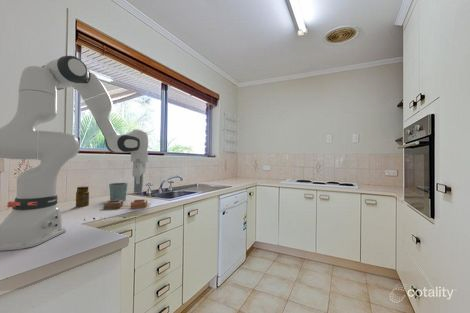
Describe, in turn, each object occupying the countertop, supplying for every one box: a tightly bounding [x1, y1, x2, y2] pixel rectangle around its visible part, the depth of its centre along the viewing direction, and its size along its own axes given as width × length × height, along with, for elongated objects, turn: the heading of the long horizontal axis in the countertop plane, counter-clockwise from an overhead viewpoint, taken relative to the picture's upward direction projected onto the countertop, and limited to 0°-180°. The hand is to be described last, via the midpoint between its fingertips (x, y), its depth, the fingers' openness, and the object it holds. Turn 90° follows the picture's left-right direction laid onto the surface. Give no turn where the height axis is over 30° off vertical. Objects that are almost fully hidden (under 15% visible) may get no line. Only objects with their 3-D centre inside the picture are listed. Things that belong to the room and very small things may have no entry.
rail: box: [99, 198, 151, 211], centre depth 121 cm, size 12×24×4 cm, turn 104°
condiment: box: [75, 185, 90, 208], centre depth 121 cm, size 7×8×12 cm
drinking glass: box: [108, 182, 128, 202], centre depth 137 cm, size 10×10×12 cm
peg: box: [133, 173, 144, 194], centre depth 123 cm, size 4×4×11 cm
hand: (138, 183), depth 123 cm, fingers closed on peg, 4 cm apart
